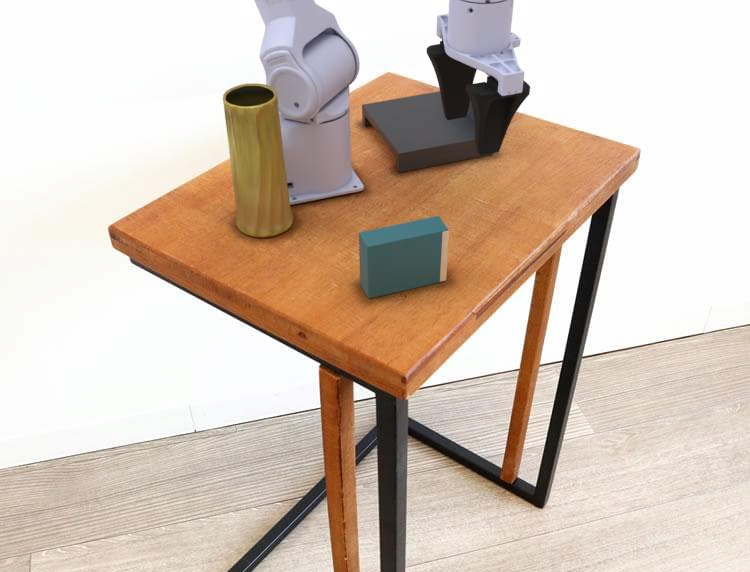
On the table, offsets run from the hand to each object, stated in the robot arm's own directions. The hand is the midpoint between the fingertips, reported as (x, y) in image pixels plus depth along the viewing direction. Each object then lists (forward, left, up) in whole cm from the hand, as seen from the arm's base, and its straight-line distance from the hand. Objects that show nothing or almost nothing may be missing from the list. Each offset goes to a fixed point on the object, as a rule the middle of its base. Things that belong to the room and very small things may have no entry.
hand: (471, 134), depth 83 cm
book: (-10, -8, -10) cm, 17 cm away
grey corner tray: (+3, +18, -10) cm, 20 cm away
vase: (-20, +7, -10) cm, 24 cm away
